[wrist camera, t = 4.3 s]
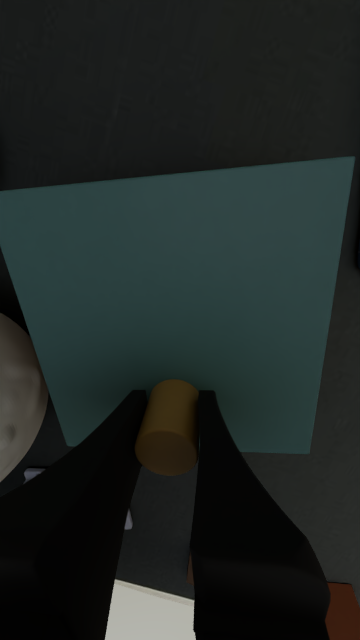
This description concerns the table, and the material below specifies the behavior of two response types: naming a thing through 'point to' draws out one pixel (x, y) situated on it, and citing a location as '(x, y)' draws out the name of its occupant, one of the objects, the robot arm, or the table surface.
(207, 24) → the table surface
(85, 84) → the table surface
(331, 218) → the lid
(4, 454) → the decorative ball
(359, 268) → the smartphone
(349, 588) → the block
